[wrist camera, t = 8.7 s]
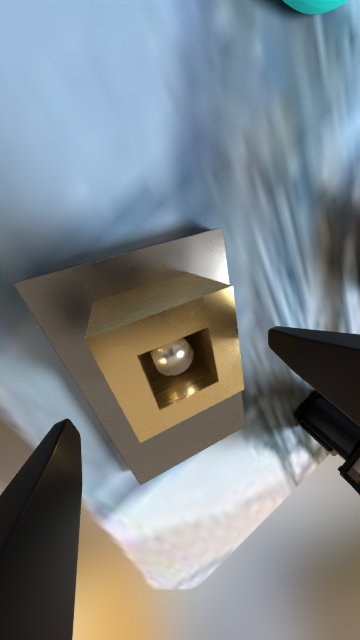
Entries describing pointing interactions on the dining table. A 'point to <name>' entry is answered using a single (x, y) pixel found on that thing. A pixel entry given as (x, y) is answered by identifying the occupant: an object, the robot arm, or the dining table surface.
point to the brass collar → (157, 330)
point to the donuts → (314, 5)
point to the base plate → (170, 359)
